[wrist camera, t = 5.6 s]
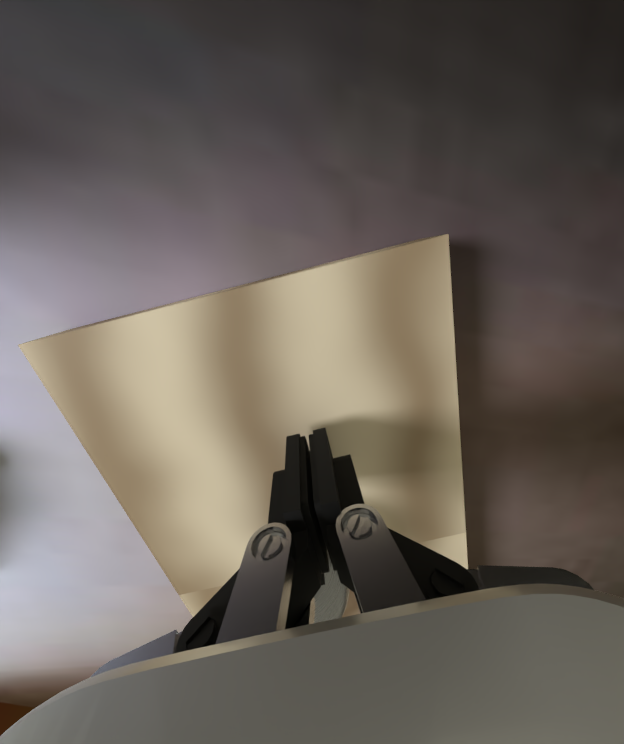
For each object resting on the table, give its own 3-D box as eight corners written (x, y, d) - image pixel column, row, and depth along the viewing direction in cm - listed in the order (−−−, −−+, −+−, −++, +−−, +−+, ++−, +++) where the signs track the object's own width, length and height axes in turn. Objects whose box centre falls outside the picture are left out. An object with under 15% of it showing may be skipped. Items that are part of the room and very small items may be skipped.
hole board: (419, 239, 12) (448, 234, 10) (452, 591, 21) (471, 632, 19) (68, 329, 13) (17, 344, 11) (241, 635, 22) (234, 681, 19)
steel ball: (352, 629, 9) (354, 664, 12) (346, 498, 13) (348, 547, 15) (217, 624, 10) (247, 659, 12) (248, 499, 13) (266, 546, 16)
